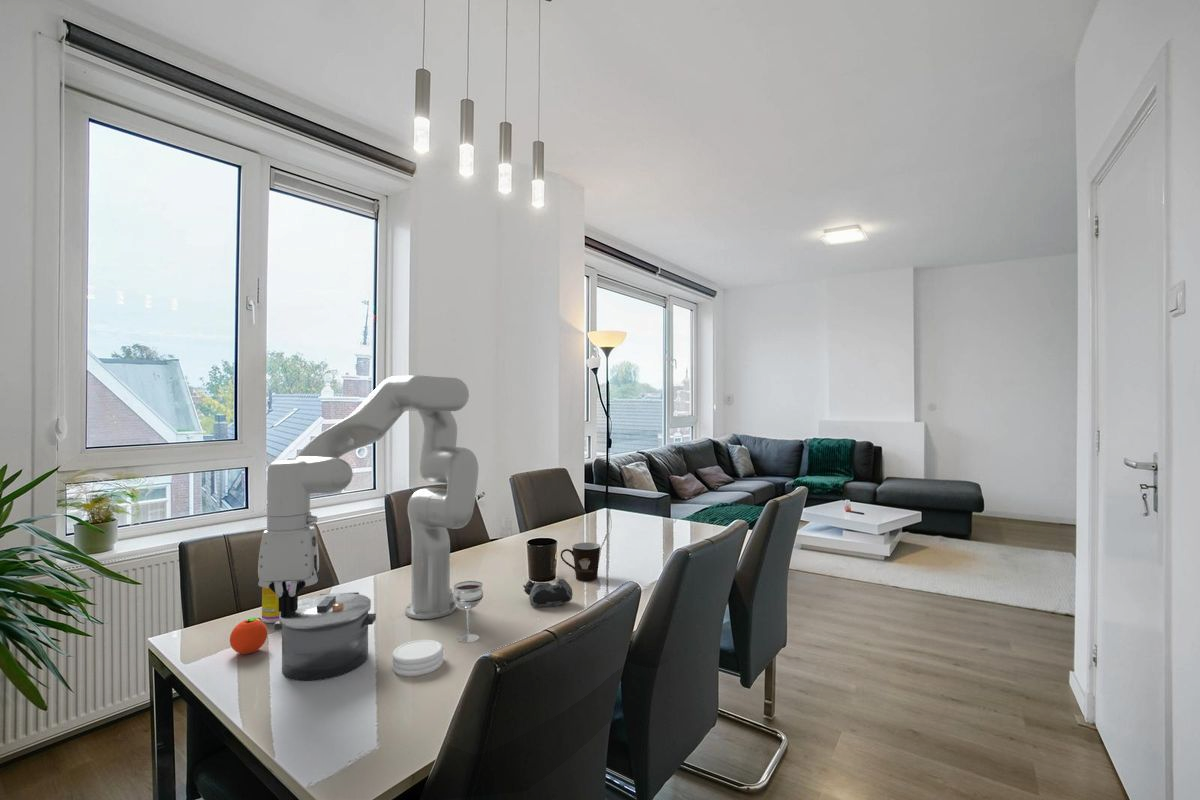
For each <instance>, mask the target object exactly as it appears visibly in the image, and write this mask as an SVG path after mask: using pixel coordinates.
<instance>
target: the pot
mask: <svg viewBox="0 0 1200 800" xmlns="http://www.w3.org/2000/svg"><path fill="white" fill-rule="evenodd" d="M376 616H377V613H376V612H375V613H369V612H368V613H366V614H365V615H364V616H362V617H360V618H358V619H355V620H353V621H350V622H347V623H344V624H340V625H336V626H331V627H325V628H316V629H295V628H289V627H286V626H283V625H282V624H281V623H280V622H279V620H278V621H277V622H276V623H274V630H275V631H276V630H277V631H279V630H280V631H281V673H282V675H283V676H284V677H285V678H287V679H290V680H293V681H299V682H312V681H313V682H315V681H322V680H328V679H333V678H337V677H340V676H343V675H346V674H349V673H350V672H353V671H354V670H356V669H358V668H360V667H361V666H363V665H364V664H365V663H366V662H367V660H368V658H369V625H370V626H371V625H373V624H374V622H375V621H376V619H377V617H376Z"/></svg>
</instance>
